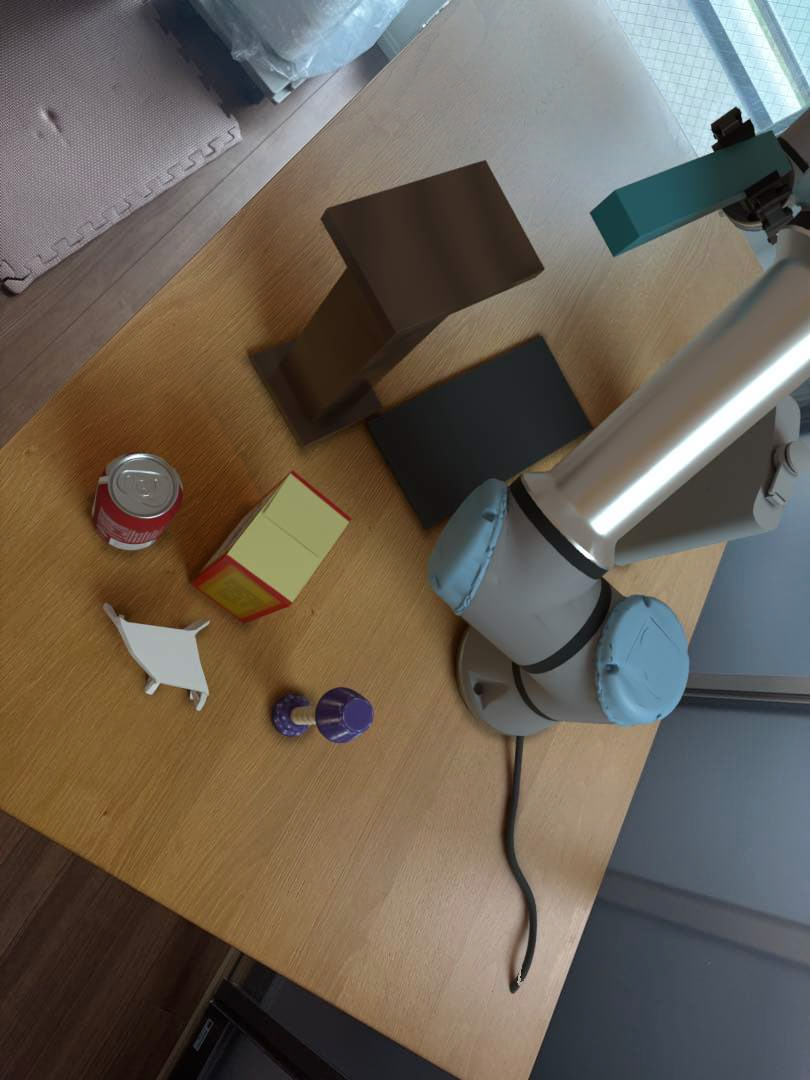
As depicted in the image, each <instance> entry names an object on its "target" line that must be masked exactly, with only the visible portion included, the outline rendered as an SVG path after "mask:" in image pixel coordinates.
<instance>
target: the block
mask: <svg viewBox="0 0 810 1080" xmlns="http://www.w3.org/2000/svg"><path fill="white" fill-rule="evenodd" d="M776 169H777V171H778V173H779V175H780V177H782V176H784V175H785V174H786V173H788V172H789V171H791V170H792V167H791V165H790V163H789V161H788V159H787V157H786V155H785V154H784V152H783V150H782V148H781V146H780V144H779V142H778V140H777V136H776V135H775V132H774V130H773V129H770V130H767V131H765V132H762V133H759V134H757V135H756V136H754V137H752V138H749V139H747V140H744V141H741V142H739V143H736V144H733V145H731V146H728V147H726V148H723V149H720V150H718V151H715V152H714V151H713V152H710V153H707V154H705V155H702V156H699V157H697V158H694V159H692V160H689V161H687V162H683V163H681V164H679V165H676V166H673V167H671V168H668V169H665V170H663V171H660V172H658V173H655V174H652V175H649V176H647V177H645V178H642V179H640V180H637V181H634V182H632V183H629V184H626V185H623V186H621V187H619V188H616V189H614V190H612V192H610V194H609V195H607V196H606V197H605V198H604V199H603V200H602V201H601V202H600V203H598V204H597V205H596V206H595V207H594V208H592V209H591V211H589V215H590V217H591V219H592V221H593V222H594V224H595V226H596V228H597V230H598V232H599V234H600V235H601V237H602V239H603V241H604V243H605V245H606V246H607V248H608V250H609V252H610V254H611V256H612V258H616V257H618V256H620V255H623V254H625V253H627V252H629V251H631V250H634V249H635V248H638V247H640V246H642V245H644V244H647V243H649V242H652V241H653V240H655V239H658V238H660V237H662V236H664V235H667V234H669V233H671V232H673V231H675V230H677V229H681V228H683V227H684V226H686V225H688V224H690V223H693V222H695V221H697V220H699V219H700V220H701V219H702V218H704V217H706V216H709V215H710V214H712V213H715V212H717V211H719V210H720V209H722V208H724V207H726V206H728V205H730V204H733V203H735V202H737V201H739V200H741V199H744V198H746V194H745V191H744V190H746V189H747V188H749V187H750V186H752V185H753V184H755V183H756V182H758V181H759V180H761V179H762V178H764V177H766V176H767V175H769V174H770V173H772V172H773V171H775V170H776Z"/></svg>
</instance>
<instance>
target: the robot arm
mask: <svg viewBox="0 0 810 1080" xmlns="http://www.w3.org/2000/svg"><path fill="white" fill-rule="evenodd" d="M742 114H743V113H742V109H740V108H739V107H738V106H734V107H733V108H731V109H730V110H728V111H727V112H726V113H724V114H723V115H721V116H720V117H719V118H717V119H716V120H714V121H713V122H712V123H709V124H710V131H711V133H712V134H713V135H712V137H713V139H714V140H716V142H715V143H714V144H712V145H711V146H710V147H711V149H712V151H713V152H715V151H718V150H720V149H723V148H726V147H728V146H731V145H733V144H736V143H739V142H741V141H744V140H747V139H749V138H752V137H754V136H757V135H756V129H755V125H754V123H753V121H752V119H751V118H748V119H747V120H744V121H743V116H742ZM776 138H777V140H778V142H779V144H780V146H781V148H782V150H783V152H784V154H785V155H786V157H787V159H788V161H789V163H790V165H791V167H792V170H791V171H789V172H788V173H786V174H785V175H784V176H782V177H780V175H779V173H778V171H777V169H776V170H775V171H773V172H772V173H770V174H769V175H767V176H766V177H764V178H762V179H761V180H759V181H758V182H756V183H755V184H753V185H752V186H750V187H749V188H747V189H746V190H744V191H745V194H746V198H744V199H741V200H739V201H737V202H735V203H733V204H730V205H728V206H726V207H724V208H722V209H719V210H718V213H717V214H718V216H719V217H721V218H724V217H727V218H728V221H730V223H731V224H733V225H734V227H735V228H737V229H738V230H741V231H743V232H751V233H757V232H761V231H764V233H765V234H766V237H767V239H766V240H767V242H768V244H771V246H774V245H775V244H776V249H775V257H774V260H773V262H772V264H771V265H770V266H769V267H768V268H766V269H765V270H764V271H763V272H762V273H761V274H760V275H759V276H758V277H756V279H755V280H753V282H751V284H749V285H748V286H747V287H746V288H745V289H743V290H742V292H740V293H739V294H738V295H737V296H736V297H735V298H734V299H732V301H731V302H730V303H729V304H728V305H727V306H726V307H724V308H723V309H722V310H721V311H720V312H719V313H718V314H717V315H716V316H715V317H714V318H713V319H711V321H709V322H708V323H707V324H706V325H705V326H704V327H703V328H701V330H700V331H698V332H697V334H695V335H694V336H693V337H692V338H691V339H690V340H689V341H688V342H687V343H686V344H685V345H683V346H682V347H681V348H680V349H679V350H678V351H677V352H676V353H675V354H674V355H672V357H670V358H669V359H668V360H667V361H666V363H664V364H663V365H662V366H661V367H659V369H658V370H656V372H654V373H653V374H652V375H651V376H650V377H649V378H648V379H647V380H646V381H645V382H643V384H642V385H640V386H639V387H638V388H637V389H636V390H635V391H634V392H633V393H632V394H631V395H630V396H628V398H627V399H625V400H624V401H623V402H622V403H621V404H620V405H619V406H618V407H617V408H616V409H615V410H613V411H612V412H611V413H610V414H609V415H608V416H607V417H606V418H605V419H603V421H601V422H600V423H599V424H598V425H597V426H596V427H595V428H594V429H592V431H590V433H589V434H588V435H587V436H586V437H584V438H583V439H582V440H581V441H580V442H579V443H578V444H576V446H575V447H573V449H571V450H570V451H569V452H568V453H567V454H566V455H565V456H564V457H563V458H562V459H560V461H558V462H557V464H555V465H554V466H553V467H552V468H551V469H549V470H545V471H526V470H524V472H521V474H520V475H519V476H518V477H516V478H515V479H514V480H513V482H511V483H510V484H509V485H508V484H507V482H506V481H505V482H504V481H499V480H497V479H493V478H492V479H489V480H487V481H485V482H484V483H483V484H482V485H481V486H479V487H477V488H476V489H475V490H474V491H473V492H472V493H471V494H470V495H469V496H468V497H467V498H466V499H465V501H464V502H463V503H462V504H461V505H460V507H459V508H458V509H457V510H456V512H455V513H453V514H452V515H451V517H450V518H449V520H448V521H447V523H446V525H444V528H443V530H442V531H441V533H440V534H439V536H438V538H437V540H436V541H435V544H434V546H433V548H432V550H431V553H430V556H429V558H428V562H427V567H426V579H427V583H428V585H429V587H430V588H431V590H432V591H433V592H434V593H435V594H437V596H438V597H439V598H440V599H442V600H443V601H444V603H445V604H447V606H449V607H450V608H451V612H452V613H453V614H454V615H456V616H459V617H461V618H462V619H463V620H464V621H465V622H466V623H467V624H468V625H467V626H466V628H465V629H464V631H463V632H462V635H461V637H460V640H459V642H458V646H457V649H456V650H457V651H456V658H455V675H456V683H457V687H458V690H459V694H460V696H461V698H462V700H463V702H464V704H465V706H466V707H467V709H468V711H469V713H470V714H471V715H472V716H473V717H474V718H475V720H477V721H478V722H479V723H480V724H481V725H482V726H483V727H485V728H487V729H489V730H490V731H491V732H494V733H496V734H499V735H503V736H508V737H509V736H510V737H515V748H514V761H513V762H514V763H513V773H512V784H511V794H510V802H509V808H508V813H507V814H508V815H507V821H506V830H505V844H506V846H505V847H506V854H507V859H508V863H509V866H510V869H511V871H512V874H513V875H514V877H515V879H516V881H517V883H518V884H519V886H520V888H521V890H522V891H523V894H524V897H525V899H526V902H527V907H528V920H529V921H528V923H529V925H528V940H527V946H526V951H525V954H524V958H523V961H522V964H521V966H522V969H521V968H520V969H521V976H520V978H521V981H520V982H522V981H523V982H525V980H526V978H527V976H528V973H529V971H530V969H531V966H532V963H533V959H534V955H535V951H536V945H537V936H538V935H537V934H538V911H537V904H536V900H535V896H534V893H533V891H532V888H531V886H530V885H529V883H528V880H527V879H526V877H525V875H524V874H523V872H522V869H521V867H520V865H519V863H518V861H517V860H518V859H517V857H516V851H515V826H516V825H515V824H516V816H517V812H518V804H519V796H520V785H521V777H522V776H521V775H522V766H523V765H522V764H523V753H524V739H525V737H528V736H532V735H536V734H537V735H538V734H540V733H542V732H544V731H546V730H548V729H550V728H552V727H553V726H554V725H557V724H559V723H561V722H562V723H563V722H564V723H577V724H596V725H610V726H618V727H622V728H627V727H634V726H640V725H652V724H654V723H656V722H660V721H661V720H663V719H664V718H666V717H667V716H668V715H670V713H672V712H673V711H674V709H675V708H676V707H677V705H678V704H679V702H680V701H681V699H682V697H683V695H684V692H685V691H686V687H687V684H688V678H689V674H690V673H689V672H690V656H689V652H688V649H689V643H688V639H687V634H686V633H685V629H684V626H683V625H682V622H681V621H680V619H679V617H678V616H677V614H676V613H675V611H673V609H672V608H671V607H670V606H669V605H668V604H667V603H665V602H664V601H662V599H661V600H660V599H659V598H656V597H655V596H654V597H653V596H650V595H644V594H632V595H629V596H625V595H623V594H622V593H620V592H619V590H618V589H616V588H615V587H614V586H613V585H612V584H611V583H610V582H609V581H608V580H607V579H606V578H605V577H604V576H605V575H606V574H607V573H608V572H609V571H611V570H612V568H614V565H615V564H614V552H615V545H616V542H617V541H618V540H619V539H620V538H621V537H622V536H623V535H625V534H626V533H627V532H628V531H629V530H630V529H632V528H633V527H634V526H635V525H636V524H638V523H639V522H640V521H641V520H642V519H643V518H645V517H646V516H647V515H648V514H649V513H650V512H652V511H653V510H654V509H655V508H656V507H658V506H659V505H660V504H661V503H662V502H663V501H665V500H666V499H667V498H668V497H669V496H670V495H672V494H673V493H674V492H675V491H676V490H677V489H679V488H680V487H681V486H682V485H683V484H685V483H686V482H687V481H688V480H689V479H690V478H692V477H693V476H694V475H695V474H696V473H697V472H699V471H700V470H701V469H702V468H703V467H705V466H706V465H707V464H708V463H709V462H710V461H712V460H713V459H714V458H715V457H716V456H717V455H719V454H720V453H721V452H722V451H723V450H725V449H726V448H727V447H728V446H729V445H730V444H732V443H733V442H734V441H735V440H736V439H737V438H739V437H740V436H741V435H742V434H743V433H744V432H746V431H747V430H748V429H749V428H750V427H752V426H753V425H754V424H755V423H756V422H757V421H759V420H760V419H761V418H762V417H763V416H764V415H766V414H767V413H768V412H769V411H770V410H772V409H773V408H774V407H775V406H776V405H777V404H779V403H780V402H781V401H782V400H783V399H784V398H786V397H787V396H788V395H791V394H792V392H794V391H796V389H798V388H799V387H800V386H801V385H802V384H804V383H805V382H806V381H807V380H808V379H810V106H809V107H808V108H807V109H806V110H804V112H802V114H801V115H800V116H798V118H796V119H795V121H793V122H792V123H791V124H790V125H789V126H788V127H787V128H786V129H785V130H784V131H783V132H781V133H780V135H778V136H776ZM795 206H796V207H800V210H799V212H797V214H796V215H794V211H793V209H792V208H793V207H795ZM518 975H519V972H518V973H517V975H516V976H515V979H514V980H513V981H512V982H511V983H510V987H509V992H510V994H515V993H517V991H518V990H519V989H520V987H521V986H522V985H523V983H522V984H521V986H519V985H518V983H517V981H518ZM524 979H525V980H524Z"/></svg>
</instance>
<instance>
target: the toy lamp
mask: <svg viewBox="0 0 810 1080" xmlns="http://www.w3.org/2000/svg"><path fill="white" fill-rule="evenodd" d="M374 716H375V712H374V707H373V705H372V704H371V702H370V701H369V699H368V698H366V697H365V696H363V695H362V694H361V693H359V692H357V691H356V690H354V689H352V688H349V687H345V686H338V687H334V688H331V689H329V690H327V691H326V692H325V693H323V694H322V696H321V697H320V698H319V699H318V702H317V703H316V704H315V705H311V703H310V701H309V700H308V699H307V698H306V697H305V696H303V695H302V694H298V693H293V692H292V693H286V694H285V695H282V696H280V697H279V698H278V699H277V700H276V701H275V702H274V704H273V706H272V709H271V713H270V719H271V722H272V726H273V727H274V729H275V731H276V732H278V733H279V734H280V735H282V736H283V737H286V738H287V737H288V738H294V737H298V736H301V735H302V734H304V733H305V732H306V731H308V729H309V728H310V726H311V725H315V726H316V727H317V730H318V732H319V733H320V735H321V736H322V737H323V738H324V739H326V740H327V741H328V742H329V741H330V742H332V743H334V744H347V743H349V742H352V741H354V740H356V739H357V738H359V737H360V736H362V735H363V734H365V732H366V731H368V730H369V729H370V727H371V726H372V724H373V722H374Z"/></svg>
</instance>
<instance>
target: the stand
mask: <svg viewBox="0 0 810 1080" xmlns="http://www.w3.org/2000/svg"><path fill="white" fill-rule="evenodd" d="M320 222H321V223H322V225H323V227H324V229H325V230H326V232H327V234H328V235H329V238H330V240H331V241H332V243H333V245H334V246H335V248H336V251H338V254H339V255H340V257H341V259H342V261H343V263H344V264H345V266H346V268H345V269H344V270H343V272H342V273H341V275H340V276H339V278H338V279H337V281H336V282H335V283H334V285H333V286H332V288H331V289H330V291H329V292H328V294H327V295H326V296H325V297H324V299H323V300H322V303H321V304H320V305H319V306H318V308H317V309H316V311H315V312H314V313H313V315H312V316H311V317H310V319H309V321H308V322H307V323H306V325H305V326H304V328H303V329H302V331H301V332H300V334H299V335H298V337H296V338H294V339H291V340H289V341H286V342H283V343H282V344H279V345H276V346H273V347H271V348H269V349H266V350H263V351H261V352H258V353H256V354H253V355H252V356H251V358H250V360H249V361H250V363H251V365H252V366H253V369H254V370H255V371H256V373H257V375H258V376H259V379H260V380H261V382H262V383H263V385H264V387H265V389H266V391H267V392H268V394H269V396H270V398H271V400H272V402H273V403H274V405H275V407H276V408H277V410H278V411H279V413H280V415H281V417H282V418H283V420H284V422H285V424H286V426H287V428H288V429H289V431H290V433H291V434H292V436H293V438H294V439H295V442H296V443H297V445H298V446H299V448H300V449H301V450H303V449H306V448H307V447H309V446H312V445H314V444H316V443H318V442H319V441H321V440H324V439H326V438H328V437H330V436H332V435H334V434H337V433H339V432H340V431H342V430H344V429H347V428H348V427H350V426H352V425H355V424H356V423H358V422H361V421H363V420H364V419H367V418H370V417H371V416H373V415H375V414H377V413H379V412H380V411H381V410H383V409H384V407H383V405H382V403H381V401H380V400H379V398H378V396H377V394H376V392H375V390H374V389H373V388H374V387H375V386H377V384H378V383H379V382H380V381H381V380H382V379H384V378H385V377H386V376H387V375H388V374H389V373H390V372H391V371H392V370H393V369H394V368H395V367H396V366H397V365H398V364H400V362H402V361H403V360H404V359H405V358H406V357H407V356H408V355H409V354H410V353H411V352H412V351H413V350H414V349H415V348H416V347H418V346H419V344H420V343H422V341H424V340H425V339H426V338H427V337H428V336H429V335H430V334H431V333H432V332H433V331H435V329H436V328H437V327H439V326H440V325H441V324H442V323H443V322H444V321H445V320H446V319H447V318H448V317H449V316H451V315H454V314H455V313H457V312H460V311H462V310H464V309H467V308H469V307H471V306H474V305H476V304H478V303H481V302H483V301H485V300H488V299H490V298H492V297H496V296H497V295H499V294H502V293H504V292H506V291H509V290H511V289H513V288H516V287H518V286H520V285H522V284H525V283H528V282H530V281H532V280H534V279H536V278H537V277H539V276H540V275H541V274H542V273H543V272H544V271H545V270H546V268H545V267H544V265H543V262H542V260H541V259H540V257H539V255H538V254H537V251H536V250H535V248H534V246H533V244H532V242H531V241H530V238H529V237H528V235H527V233H526V231H525V229H524V228H523V226H522V224H521V222H520V220H519V218H518V217H517V215H516V213H515V211H514V208H512V205H511V204H510V202H509V200H508V199H507V197H506V194H505V193H504V191H503V189H502V188H501V185H500V183H499V182H498V180H497V178H496V176H495V174H494V173H493V170H492V169H491V167H490V165H489V164H488V162H487V160H486V159H483V160H480V161H477V162H473V163H470V164H466V165H464V166H461V167H457V168H454V169H451V170H448V171H445V172H444V171H443V172H441V173H437V174H434V175H431V176H428V177H423V178H421V179H417V180H414V181H411V182H408V183H405V184H401V185H398V186H394V187H391V188H388V189H385V190H382V191H381V190H380V191H378V192H375V193H372V194H371V193H370V194H368V195H365V196H363V197H359V198H355V199H352V200H349V201H345V202H342V203H338V204H336V205H331V206H329V207H326V208H325V210H324V211H323V214H322V215H321V217H320Z"/></svg>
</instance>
